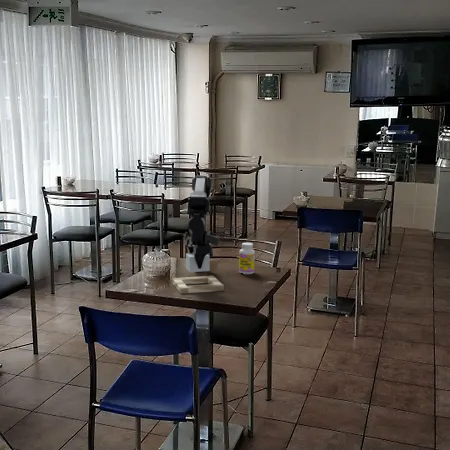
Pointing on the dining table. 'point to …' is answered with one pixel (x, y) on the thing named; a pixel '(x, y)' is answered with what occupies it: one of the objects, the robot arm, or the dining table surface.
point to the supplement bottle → (246, 259)
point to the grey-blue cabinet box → (192, 264)
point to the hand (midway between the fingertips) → (197, 266)
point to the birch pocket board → (212, 286)
